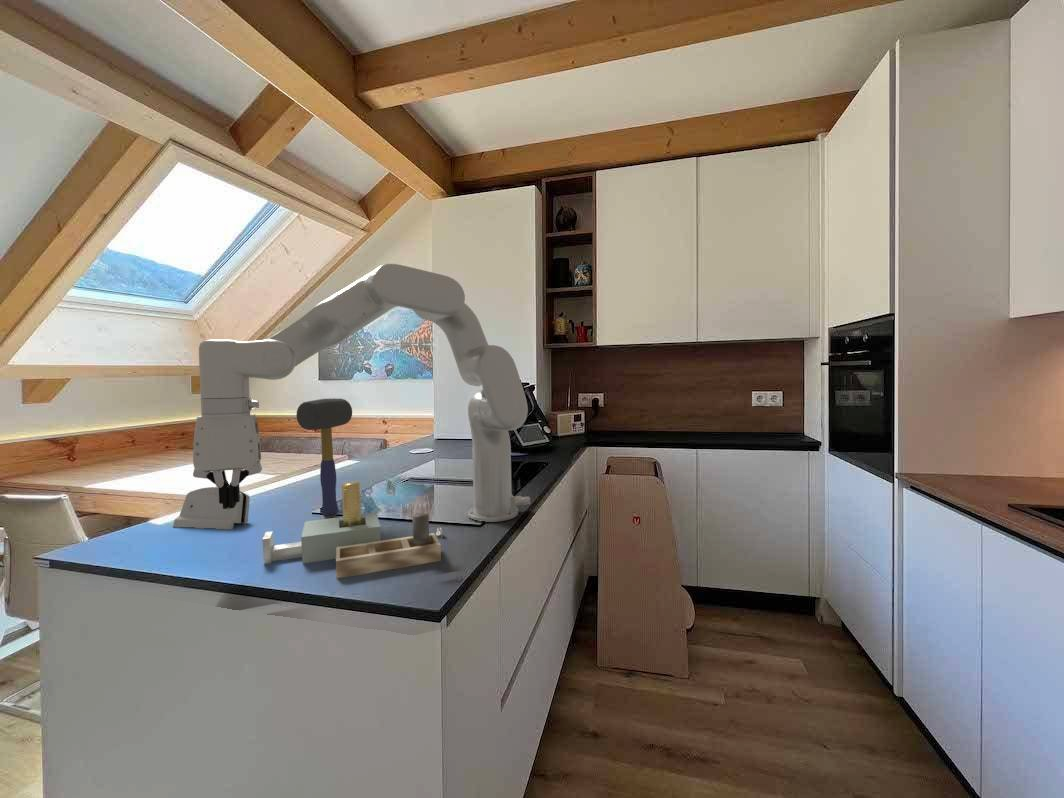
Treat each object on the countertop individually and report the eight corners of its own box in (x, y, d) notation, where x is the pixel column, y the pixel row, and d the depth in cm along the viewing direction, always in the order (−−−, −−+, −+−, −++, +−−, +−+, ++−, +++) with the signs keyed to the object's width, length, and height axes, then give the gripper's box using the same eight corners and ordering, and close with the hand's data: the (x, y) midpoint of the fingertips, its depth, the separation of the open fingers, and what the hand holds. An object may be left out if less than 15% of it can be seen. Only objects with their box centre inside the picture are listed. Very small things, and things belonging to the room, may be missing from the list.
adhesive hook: (443, 544, 100) (443, 530, 99) (431, 545, 99) (430, 531, 99) (444, 539, 103) (443, 525, 102) (431, 540, 102) (431, 526, 102)
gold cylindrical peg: (362, 542, 98) (359, 480, 97) (362, 548, 95) (360, 484, 94) (344, 545, 96) (341, 482, 96) (344, 550, 93) (341, 486, 93)
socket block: (377, 539, 102) (376, 512, 102) (381, 556, 93) (380, 526, 92) (306, 550, 97) (305, 521, 97) (302, 568, 88) (301, 537, 87)
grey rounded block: (171, 527, 113) (181, 485, 116) (188, 527, 118) (197, 487, 121) (232, 529, 111) (241, 486, 113) (247, 529, 115) (255, 488, 118)
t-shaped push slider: (313, 552, 95) (312, 525, 94) (312, 560, 91) (311, 532, 90) (267, 559, 92) (265, 531, 91) (263, 567, 88) (262, 539, 87)
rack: (434, 552, 94) (433, 508, 94) (441, 565, 88) (439, 518, 87) (337, 568, 88) (335, 520, 87) (336, 583, 81) (334, 532, 80)
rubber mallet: (322, 526, 112) (316, 400, 110) (298, 523, 114) (292, 400, 112) (359, 511, 123) (354, 397, 121) (336, 508, 126) (331, 397, 124)
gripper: (275, 405, 92) (278, 497, 93) (183, 407, 87) (187, 505, 88) (269, 407, 85) (272, 507, 86) (169, 410, 80) (174, 517, 81)
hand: (229, 506), depth 87 cm, fingers closed
